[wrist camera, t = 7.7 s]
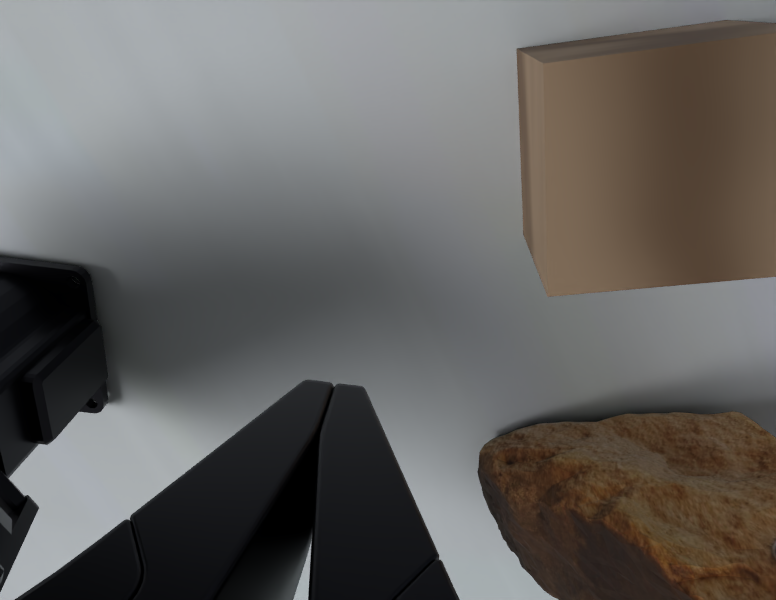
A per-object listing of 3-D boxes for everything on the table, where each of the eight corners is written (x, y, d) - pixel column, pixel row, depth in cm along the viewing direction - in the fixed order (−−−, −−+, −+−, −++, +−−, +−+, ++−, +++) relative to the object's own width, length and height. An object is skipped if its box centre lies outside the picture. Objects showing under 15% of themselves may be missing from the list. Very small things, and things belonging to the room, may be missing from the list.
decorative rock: (785, 355, 22) (1054, 626, 13) (784, 478, 25) (1008, 782, 15) (466, 412, 24) (488, 682, 15) (495, 520, 27) (529, 810, 17)
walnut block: (523, 233, 21) (547, 297, 16) (516, 48, 18) (543, 63, 14) (704, 215, 20) (781, 275, 16) (724, 19, 18) (823, 25, 13)
